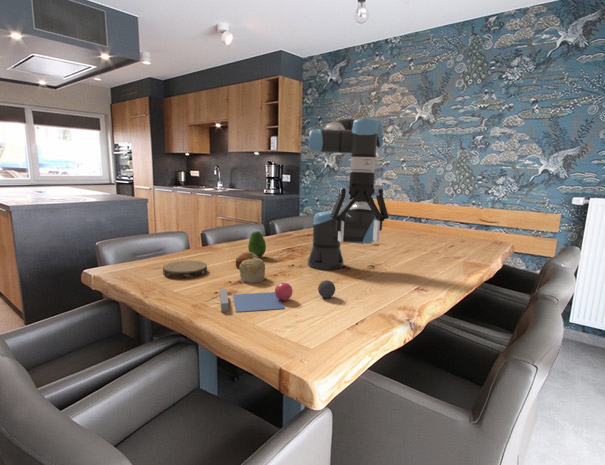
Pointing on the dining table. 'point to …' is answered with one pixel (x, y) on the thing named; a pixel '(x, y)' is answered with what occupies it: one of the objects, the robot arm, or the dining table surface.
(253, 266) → the coral
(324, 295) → the dark gray ball
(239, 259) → the bread roll
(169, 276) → the round stone disc
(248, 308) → the blue flat square slab
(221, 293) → the wall
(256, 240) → the fruit
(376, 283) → the dining table surface
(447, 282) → the dining table surface
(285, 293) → the red object ball
